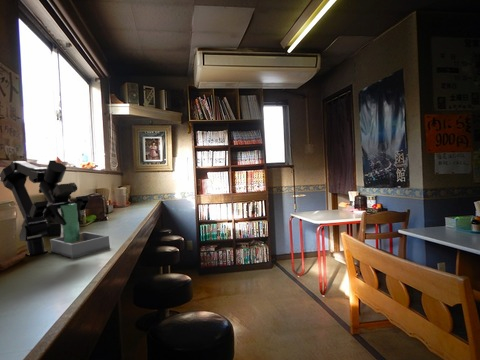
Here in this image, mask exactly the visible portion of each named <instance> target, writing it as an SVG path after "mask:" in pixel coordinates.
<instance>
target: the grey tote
mask: <svg viewBox="0 0 480 360" xmlns="http://www.w3.org/2000/svg"><path fill="white" fill-rule="evenodd" d="M81 233H82V241H83V242H79V243H75V244H71V243H64V237H61V236H59V237H55V238H50V239H49V241H50V249H51V252H52V253H55V254H58V255H62V256H64V257H67V258H70V259H75V258H79V257H82V256H86V255H89V254H93V253H98V252H100V251H101V252H102V251H104V250H107V249H108V250H110V248H111V245H110V236H109V235H107V234H100V233H94V232H89V231H83V232H81Z"/></svg>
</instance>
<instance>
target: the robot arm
mask: <svg viewBox="0 0 480 360" xmlns="http://www.w3.org/2000/svg"><path fill="white" fill-rule="evenodd" d="M47 164H48V165H47V166H37V165H35V164H33V163H29V162H28V161H25V160H13V161H11V163H10V164H9V165H7V166H5V167H4V168H3V169H2V170H1V172H0V177H1V180H0V182H3V183H2V184H3V186H4V188H6V189H8V190H10V191H11V192H12V195H13V197H14V199H15V202H16V204H17V207H18V209H19V211H20V214H21V215H22V218H23V221H22V224H21V229H20V233H19V235H18V237H19V240H20V242H26V243H25V244H26V250H29V253H30V255H29V256H28V257H33V256H36V255H40V254H45V253H47V252H48V250H47V249H45V241H44V238H46V237H49V235H50V224H49V222H48V220H51V221H53V222H56V223H58V224H60V226H61V225H65V221H64V219H63V218H62V216H61V215H60V213H59V212H58V210H59V209H61V207H60V206H61V205H66V204H77V211H78V222H79V223H80V222H81V220H82V219H81V211H85V210H86V209H87V208H88V205H89V203H90V201H91V199H90V197H89V196H88V195H77V196H76V197H75V200H73V201H71V198H72V196H71V195H72V193H76V191H77V190H78V186H77V184H76V182H69V183H61V182H63V181H62V180H63V178H64V176H65V173H66V171H67V167H66V165H65V164H63V163H61V162H59V161H57V160H55V159H54V160H49V161H48V163H47ZM27 179H28V180H29V181H30V182H31V183H33V184H39V185H38V187H39V189H38V193H39V194H43V195H44V197H45V200H42V201H41V200H40V201H32V199H31V196H30V194H29V192H28V189H27V187H26V182H27ZM47 219H48V220H47Z"/></svg>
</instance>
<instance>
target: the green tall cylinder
mask: <svg viewBox="0 0 480 360" xmlns="http://www.w3.org/2000/svg"><path fill="white" fill-rule="evenodd" d="M60 207H61V216H62V218H63V219H64V221H65V225H62V226H63V236H64V243H72V242H76V241H79V240H80V233H81V232H80V222H78V211H77V204H66V205H61V206H60Z"/></svg>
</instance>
